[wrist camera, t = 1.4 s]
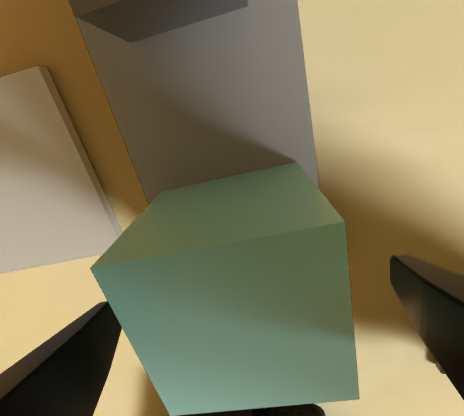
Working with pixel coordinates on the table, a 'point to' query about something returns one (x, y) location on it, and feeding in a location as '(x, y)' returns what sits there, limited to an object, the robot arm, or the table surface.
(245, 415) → the egg carton
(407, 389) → the table surface
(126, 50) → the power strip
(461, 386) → the robot arm
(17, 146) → the mat
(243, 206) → the green block
